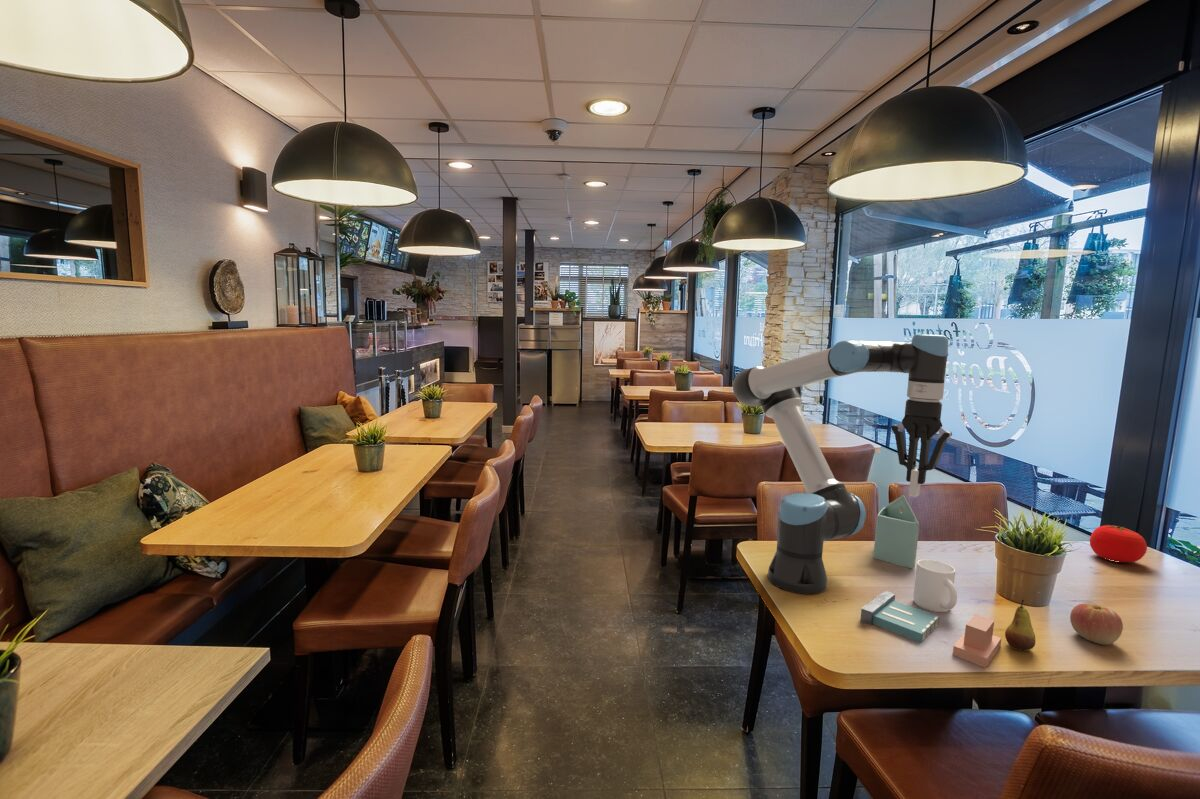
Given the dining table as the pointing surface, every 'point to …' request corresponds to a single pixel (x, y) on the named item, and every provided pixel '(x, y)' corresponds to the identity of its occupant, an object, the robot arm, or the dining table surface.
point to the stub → (978, 641)
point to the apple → (1096, 623)
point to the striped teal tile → (906, 620)
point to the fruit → (1020, 630)
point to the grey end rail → (876, 606)
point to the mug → (935, 586)
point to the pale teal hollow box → (896, 534)
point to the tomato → (1118, 543)
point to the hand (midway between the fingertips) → (913, 495)
